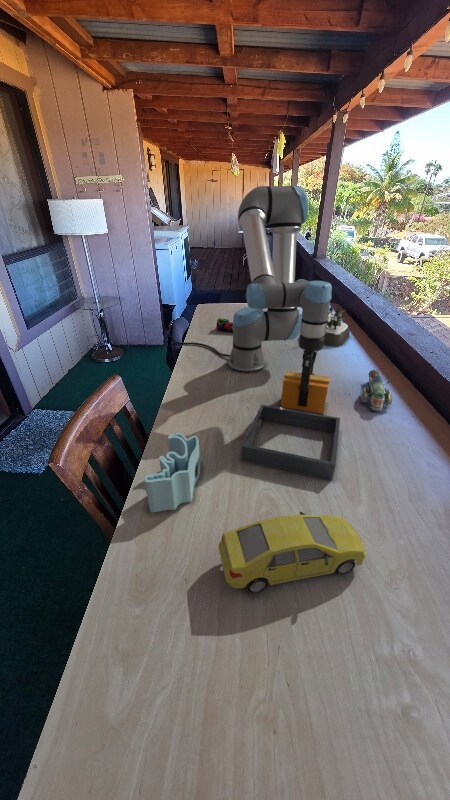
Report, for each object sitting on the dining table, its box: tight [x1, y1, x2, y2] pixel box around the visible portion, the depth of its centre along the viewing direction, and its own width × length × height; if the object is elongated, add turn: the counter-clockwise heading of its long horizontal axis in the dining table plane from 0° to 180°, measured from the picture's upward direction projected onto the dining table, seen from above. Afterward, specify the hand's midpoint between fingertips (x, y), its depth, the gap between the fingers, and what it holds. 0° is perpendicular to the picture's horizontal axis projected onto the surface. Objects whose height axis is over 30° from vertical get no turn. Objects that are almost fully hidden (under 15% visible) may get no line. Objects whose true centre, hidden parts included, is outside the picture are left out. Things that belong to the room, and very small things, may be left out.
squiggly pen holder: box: [144, 432, 201, 513], centre depth 85 cm, size 18×10×9 cm, turn 175°
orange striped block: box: [280, 370, 331, 415], centre depth 116 cm, size 14×8×11 cm, turn 71°
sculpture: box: [215, 317, 233, 331], centre depth 180 cm, size 9×5×30 cm
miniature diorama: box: [324, 305, 351, 347], centre depth 169 cm, size 20×20×17 cm
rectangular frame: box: [240, 404, 341, 481], centre depth 99 cm, size 24×22×5 cm
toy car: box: [218, 511, 367, 594], centre depth 66 cm, size 12×28×10 cm, turn 102°
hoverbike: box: [360, 366, 393, 413], centre depth 123 cm, size 10×25×8 cm, turn 163°
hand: (303, 399), depth 118 cm, fingers closed on orange striped block, 7 cm apart
